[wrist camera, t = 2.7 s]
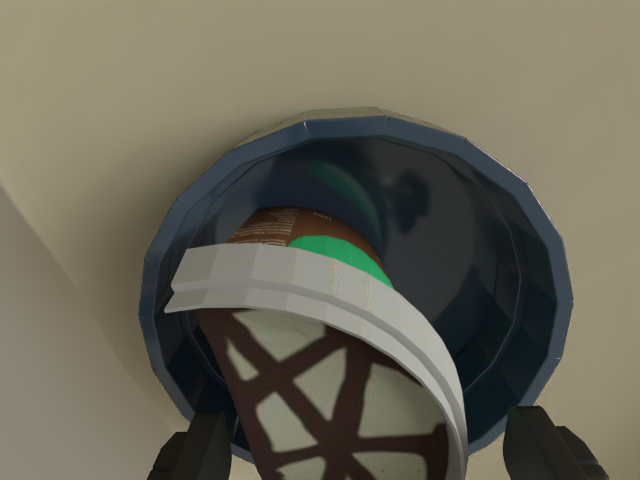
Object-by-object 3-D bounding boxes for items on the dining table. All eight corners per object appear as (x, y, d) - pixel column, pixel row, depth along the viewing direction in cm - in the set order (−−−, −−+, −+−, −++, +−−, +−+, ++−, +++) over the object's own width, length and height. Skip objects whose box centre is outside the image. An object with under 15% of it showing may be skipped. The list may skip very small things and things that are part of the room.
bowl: (154, 117, 17) (89, 131, 13) (536, 97, 17) (617, 103, 12) (211, 406, 23) (182, 487, 19) (493, 399, 23) (536, 482, 18)
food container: (430, 370, 21) (509, 598, 12) (318, 391, 22) (310, 622, 13) (384, 142, 17) (454, 219, 7) (246, 177, 17) (153, 288, 8)
